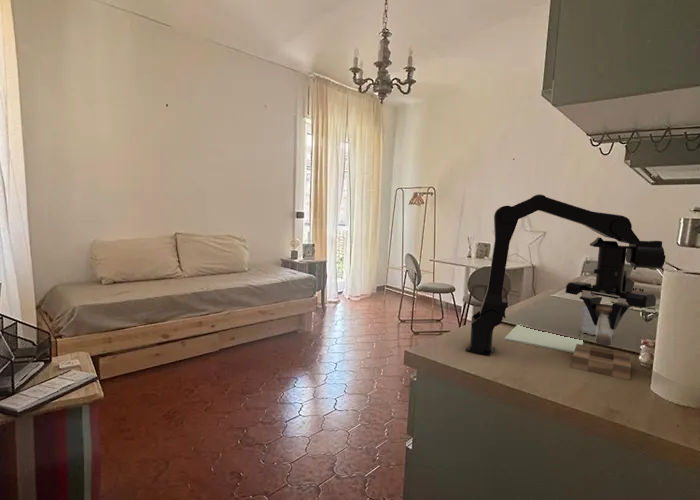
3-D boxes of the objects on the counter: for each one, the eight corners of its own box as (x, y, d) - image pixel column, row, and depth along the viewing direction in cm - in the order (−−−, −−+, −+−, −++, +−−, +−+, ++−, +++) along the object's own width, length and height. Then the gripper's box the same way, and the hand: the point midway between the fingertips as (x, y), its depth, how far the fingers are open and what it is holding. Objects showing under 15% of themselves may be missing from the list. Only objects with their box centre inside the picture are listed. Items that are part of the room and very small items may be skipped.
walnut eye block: (629, 379, 95) (631, 367, 95) (571, 367, 102) (572, 356, 101) (628, 364, 105) (629, 353, 105) (575, 354, 112) (576, 343, 112)
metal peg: (617, 344, 102) (621, 307, 101) (608, 347, 100) (611, 309, 99) (598, 339, 106) (601, 303, 105) (588, 341, 104) (592, 304, 103)
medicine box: (612, 337, 129) (615, 311, 129) (606, 340, 127) (609, 312, 126) (586, 331, 136) (589, 305, 135) (580, 333, 133) (582, 307, 132)
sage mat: (580, 354, 112) (580, 352, 112) (504, 339, 123) (504, 338, 123) (584, 337, 129) (584, 335, 129) (517, 325, 140) (517, 324, 140)
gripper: (669, 269, 98) (662, 333, 99) (589, 260, 113) (584, 315, 115) (648, 272, 92) (640, 339, 93) (566, 261, 107) (561, 319, 109)
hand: (604, 327), depth 103 cm, fingers closed on metal peg, 4 cm apart
